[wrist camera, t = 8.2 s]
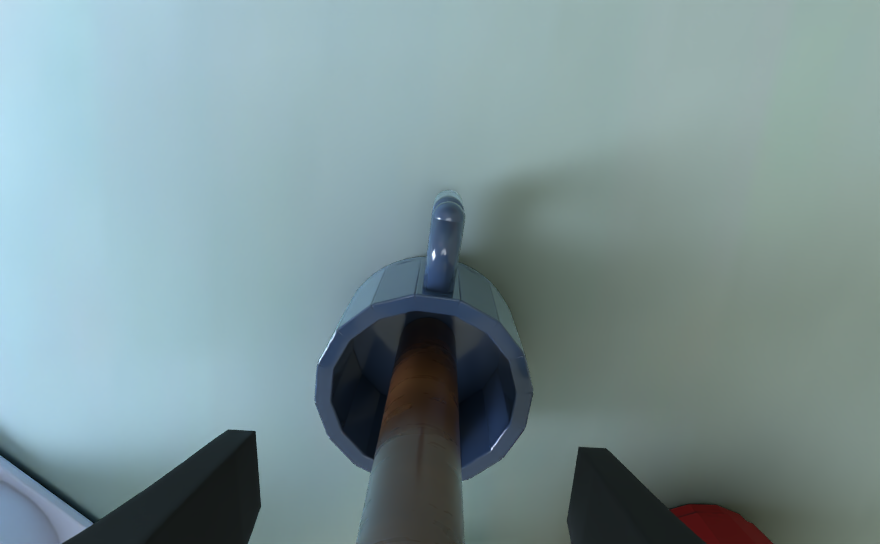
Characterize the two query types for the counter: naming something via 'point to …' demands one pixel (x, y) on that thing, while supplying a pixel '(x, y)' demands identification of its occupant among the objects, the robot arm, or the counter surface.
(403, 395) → the stirrer
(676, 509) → the plastic cup
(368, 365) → the coffee cup
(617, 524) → the robot arm
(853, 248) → the counter surface
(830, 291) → the counter surface
